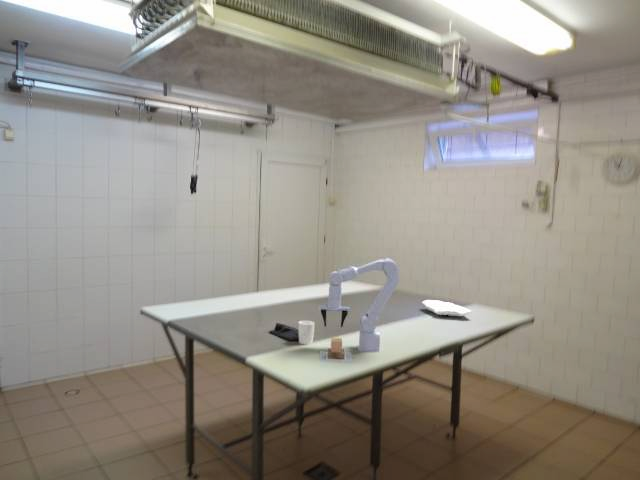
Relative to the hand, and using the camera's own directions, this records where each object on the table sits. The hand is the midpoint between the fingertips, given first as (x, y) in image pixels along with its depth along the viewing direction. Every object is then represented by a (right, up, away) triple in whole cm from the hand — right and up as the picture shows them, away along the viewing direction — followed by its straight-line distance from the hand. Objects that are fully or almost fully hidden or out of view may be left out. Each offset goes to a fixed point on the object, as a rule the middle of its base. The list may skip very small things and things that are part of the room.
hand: (333, 326), depth 216 cm
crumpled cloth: (+72, -8, +78) cm, 107 cm away
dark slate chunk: (-21, -9, +19) cm, 30 cm away
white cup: (-13, -10, +7) cm, 18 cm away
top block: (+1, -9, -12) cm, 15 cm away
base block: (+1, -11, -12) cm, 16 cm away
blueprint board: (+1, -11, -12) cm, 17 cm away
